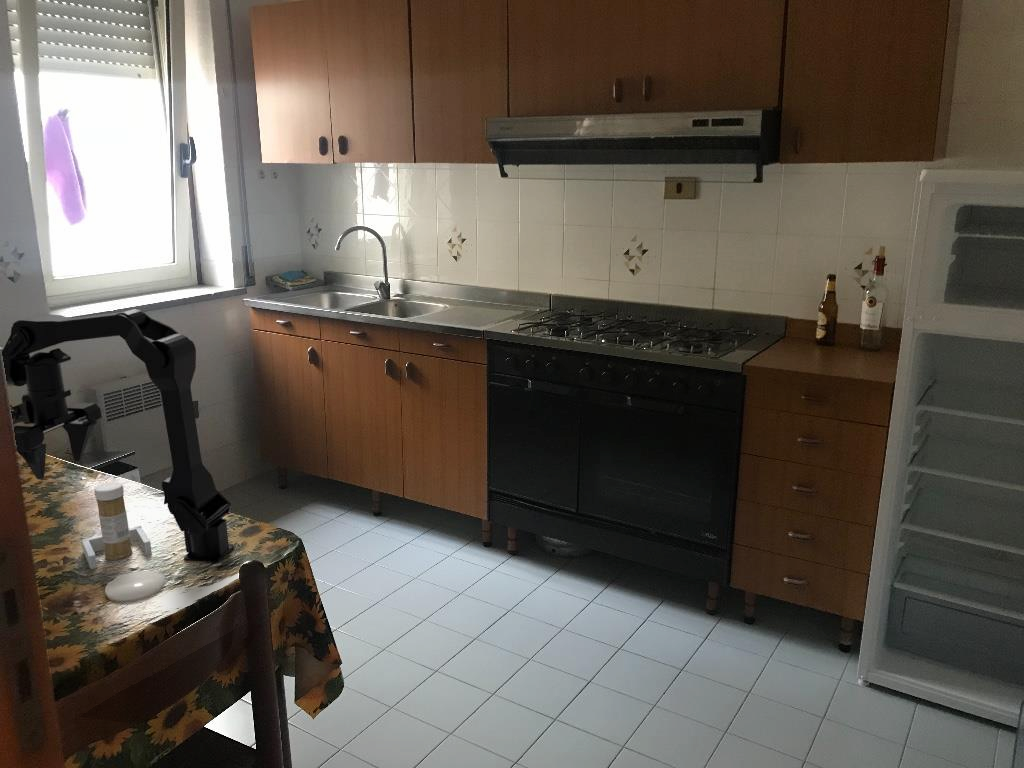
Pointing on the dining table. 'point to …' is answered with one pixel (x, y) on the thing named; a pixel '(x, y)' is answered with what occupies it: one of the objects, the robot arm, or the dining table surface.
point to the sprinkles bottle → (113, 520)
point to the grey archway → (97, 544)
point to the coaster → (135, 586)
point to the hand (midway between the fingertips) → (59, 469)
